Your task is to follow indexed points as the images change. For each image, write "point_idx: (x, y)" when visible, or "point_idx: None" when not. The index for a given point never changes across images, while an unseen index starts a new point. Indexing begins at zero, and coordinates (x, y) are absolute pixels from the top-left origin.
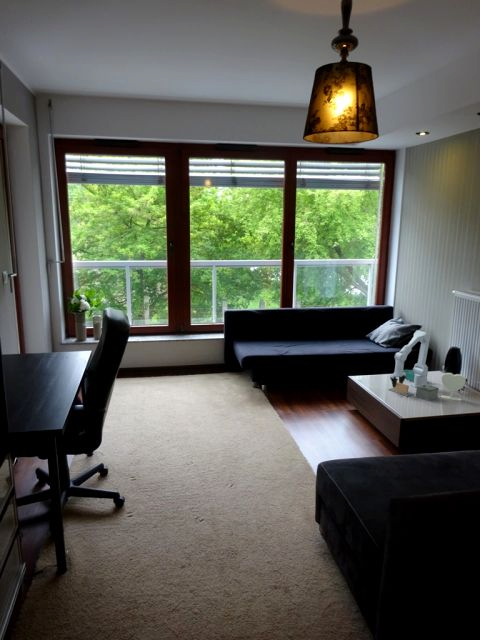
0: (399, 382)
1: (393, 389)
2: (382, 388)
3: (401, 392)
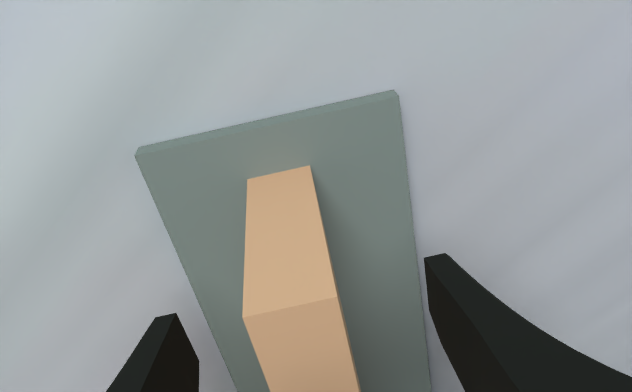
0: (450, 303)
1: None
2: (24, 18)
3: None
